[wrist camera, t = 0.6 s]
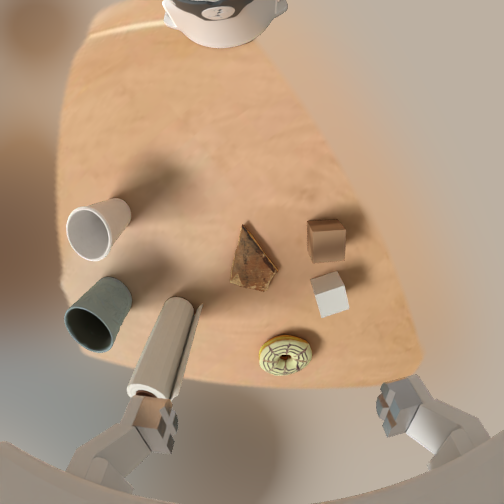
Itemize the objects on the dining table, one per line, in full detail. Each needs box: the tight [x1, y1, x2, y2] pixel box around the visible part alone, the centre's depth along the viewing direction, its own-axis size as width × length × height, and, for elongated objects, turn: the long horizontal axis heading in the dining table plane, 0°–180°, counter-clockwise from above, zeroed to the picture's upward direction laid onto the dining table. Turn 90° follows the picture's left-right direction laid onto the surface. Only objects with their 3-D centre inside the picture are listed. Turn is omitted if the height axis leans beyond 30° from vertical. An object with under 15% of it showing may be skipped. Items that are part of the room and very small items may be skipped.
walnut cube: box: [307, 219, 346, 263], centre depth 42 cm, size 5×5×5 cm
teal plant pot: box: [64, 277, 132, 353], centre depth 45 cm, size 10×10×12 cm
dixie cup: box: [66, 198, 131, 261], centre depth 38 cm, size 8×8×10 cm
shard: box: [230, 224, 278, 292], centre depth 46 cm, size 11×8×2 cm
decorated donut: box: [259, 335, 312, 376], centre depth 53 cm, size 10×11×4 cm
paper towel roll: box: [127, 297, 203, 401], centre depth 41 cm, size 7×6×21 cm
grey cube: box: [310, 271, 349, 318], centre depth 46 cm, size 5×5×5 cm
